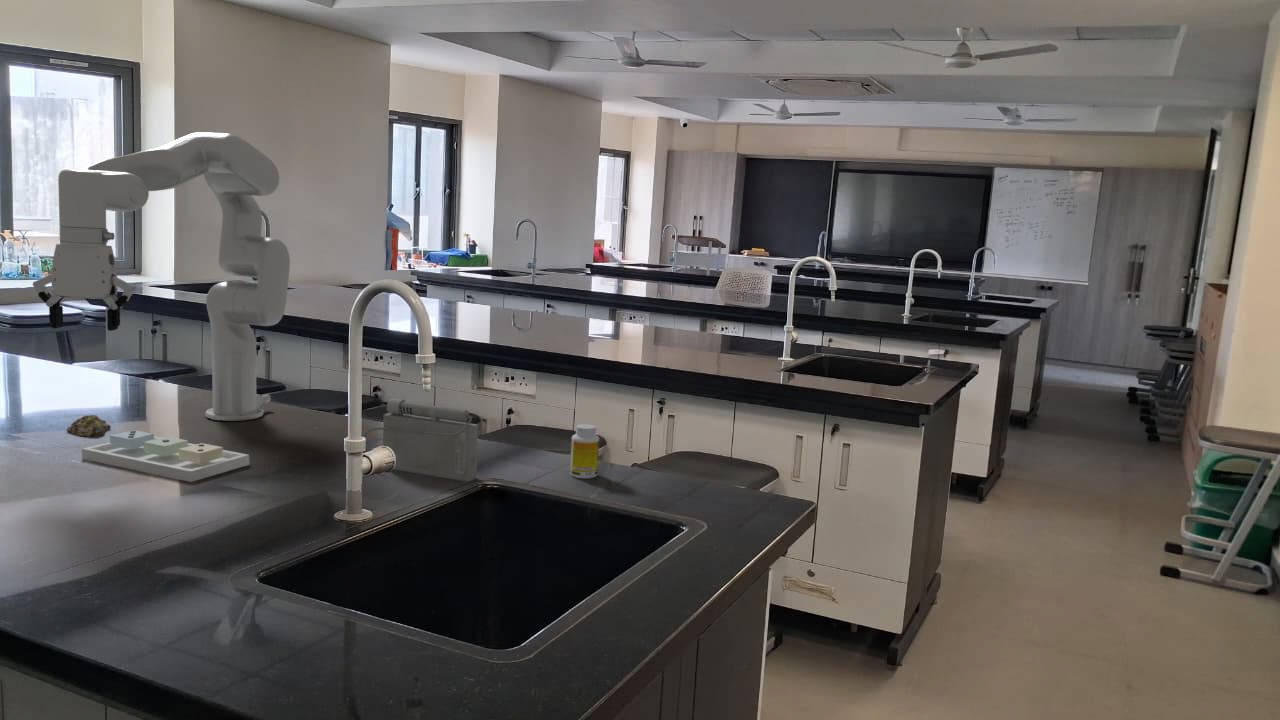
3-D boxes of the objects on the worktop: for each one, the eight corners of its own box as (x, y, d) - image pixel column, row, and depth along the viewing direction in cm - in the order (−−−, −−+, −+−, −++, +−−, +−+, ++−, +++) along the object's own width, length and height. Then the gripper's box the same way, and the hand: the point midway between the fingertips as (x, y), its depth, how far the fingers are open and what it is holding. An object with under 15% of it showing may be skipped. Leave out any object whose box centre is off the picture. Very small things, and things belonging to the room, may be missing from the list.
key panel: (144, 443, 196) (144, 434, 195) (249, 464, 185) (249, 454, 185) (82, 458, 183) (81, 448, 182) (190, 482, 172) (190, 471, 172)
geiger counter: (482, 407, 184) (372, 392, 192) (466, 413, 178) (353, 397, 186) (480, 477, 186) (371, 459, 194) (463, 485, 180) (352, 466, 188)
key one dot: (167, 446, 187) (167, 435, 187) (187, 450, 185) (187, 439, 185) (143, 452, 182) (143, 441, 182) (164, 456, 180) (164, 445, 180)
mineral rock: (60, 419, 203) (100, 406, 208) (67, 437, 205) (107, 424, 210) (70, 431, 195) (111, 417, 200) (77, 450, 197) (118, 436, 202)
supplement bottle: (601, 479, 190) (603, 429, 188) (574, 480, 188) (576, 429, 186) (592, 471, 195) (595, 422, 193) (566, 472, 193) (568, 423, 191)
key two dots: (201, 453, 184) (201, 442, 184) (222, 457, 182) (222, 446, 182) (178, 459, 179) (178, 448, 179) (200, 463, 177) (200, 452, 177)
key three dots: (134, 439, 190) (134, 429, 190) (154, 443, 189) (153, 433, 188) (110, 445, 186) (110, 434, 185) (130, 449, 184) (130, 438, 183)
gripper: (140, 239, 181) (141, 328, 184) (42, 234, 179) (44, 324, 181) (125, 240, 174) (127, 333, 176) (22, 235, 171) (25, 329, 174)
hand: (85, 328), depth 179 cm, fingers open, 9 cm apart
